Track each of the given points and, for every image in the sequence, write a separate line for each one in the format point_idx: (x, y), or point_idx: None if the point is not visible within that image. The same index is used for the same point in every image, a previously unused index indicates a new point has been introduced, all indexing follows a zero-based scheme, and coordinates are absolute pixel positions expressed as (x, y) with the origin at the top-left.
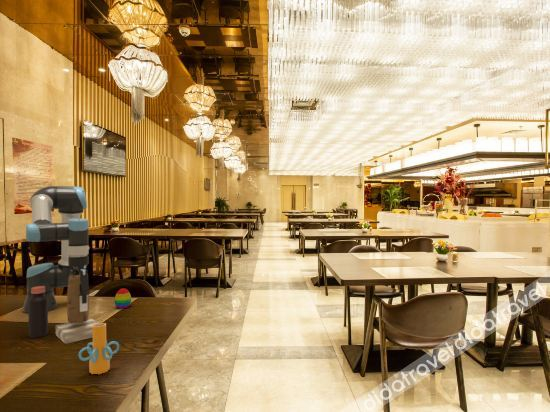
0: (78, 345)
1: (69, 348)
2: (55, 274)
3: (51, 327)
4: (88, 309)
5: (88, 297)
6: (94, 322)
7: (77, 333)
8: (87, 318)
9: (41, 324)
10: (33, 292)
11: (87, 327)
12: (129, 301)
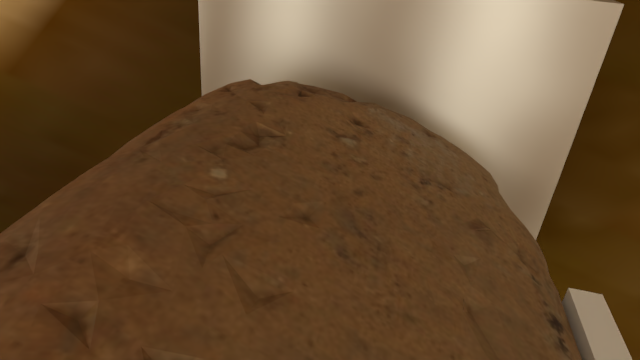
0: (623, 248)
1: (614, 305)
2: None
3: (44, 166)
4: (402, 165)
5: (312, 257)
6: (407, 16)
7: None
8: (490, 177)
9: None
10: None
11: (517, 154)
12: None
